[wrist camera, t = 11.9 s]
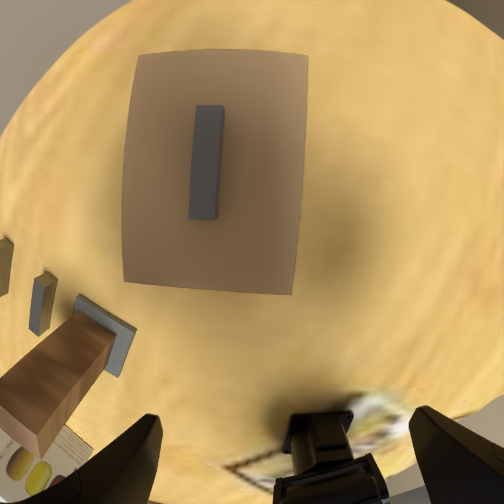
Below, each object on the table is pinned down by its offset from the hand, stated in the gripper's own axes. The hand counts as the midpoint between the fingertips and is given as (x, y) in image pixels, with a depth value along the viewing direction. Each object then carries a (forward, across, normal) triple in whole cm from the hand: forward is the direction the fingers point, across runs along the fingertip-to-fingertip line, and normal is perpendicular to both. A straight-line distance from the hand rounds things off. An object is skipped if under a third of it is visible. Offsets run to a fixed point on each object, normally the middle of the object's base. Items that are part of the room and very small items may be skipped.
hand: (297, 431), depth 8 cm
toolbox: (+13, +4, -8) cm, 16 cm away
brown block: (+13, +15, +6) cm, 21 cm away
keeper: (+13, +24, +2) cm, 27 cm away
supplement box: (+13, +28, +26) cm, 40 cm away
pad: (+13, +15, +6) cm, 21 cm away
